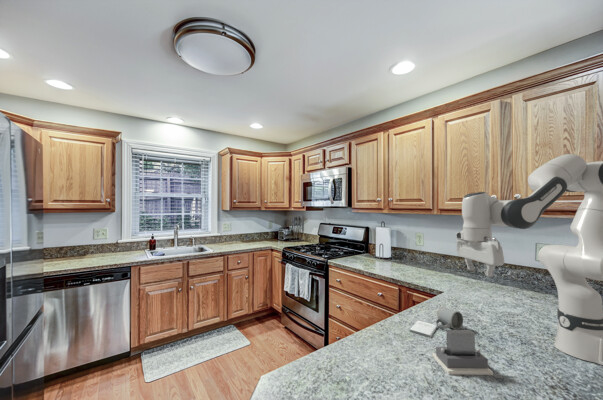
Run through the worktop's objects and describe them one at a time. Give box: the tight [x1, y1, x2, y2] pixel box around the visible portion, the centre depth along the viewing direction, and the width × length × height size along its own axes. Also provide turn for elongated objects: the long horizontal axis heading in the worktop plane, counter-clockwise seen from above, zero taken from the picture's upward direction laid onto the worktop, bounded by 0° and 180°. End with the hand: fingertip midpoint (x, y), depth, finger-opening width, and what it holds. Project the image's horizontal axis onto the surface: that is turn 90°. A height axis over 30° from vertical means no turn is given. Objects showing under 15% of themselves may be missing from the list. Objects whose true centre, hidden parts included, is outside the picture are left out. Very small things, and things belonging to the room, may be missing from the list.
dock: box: [432, 346, 494, 376], centre depth 85 cm, size 14×10×5 cm
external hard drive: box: [409, 320, 438, 339], centre depth 111 cm, size 2×8×12 cm
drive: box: [445, 329, 476, 356], centre depth 85 cm, size 8×2×10 cm, turn 90°
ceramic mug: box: [435, 307, 464, 330], centre depth 114 cm, size 11×8×8 cm
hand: (479, 273), depth 94 cm, fingers open, 8 cm apart
